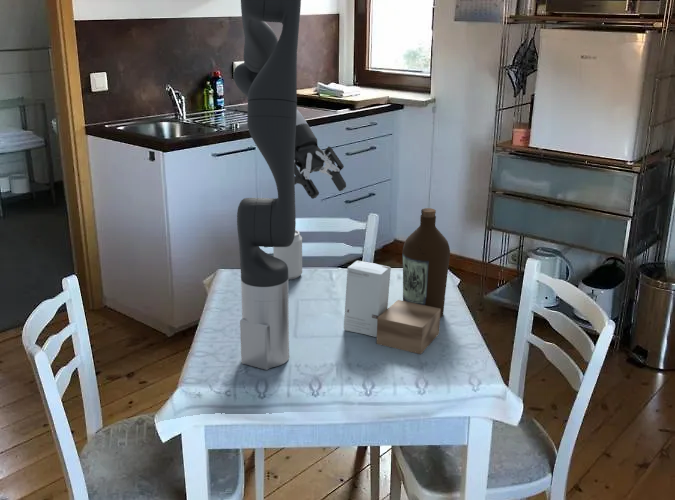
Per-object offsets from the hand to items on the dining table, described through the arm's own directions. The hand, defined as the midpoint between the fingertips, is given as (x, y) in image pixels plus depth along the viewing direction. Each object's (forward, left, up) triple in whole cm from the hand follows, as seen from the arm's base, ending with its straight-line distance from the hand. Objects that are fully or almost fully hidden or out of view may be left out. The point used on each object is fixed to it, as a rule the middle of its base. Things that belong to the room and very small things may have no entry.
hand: (329, 192), depth 160 cm
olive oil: (+11, -19, -29) cm, 36 cm away
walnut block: (-3, -21, -29) cm, 36 cm away
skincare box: (-3, -11, -29) cm, 31 cm away
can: (+17, +21, -29) cm, 40 cm away
